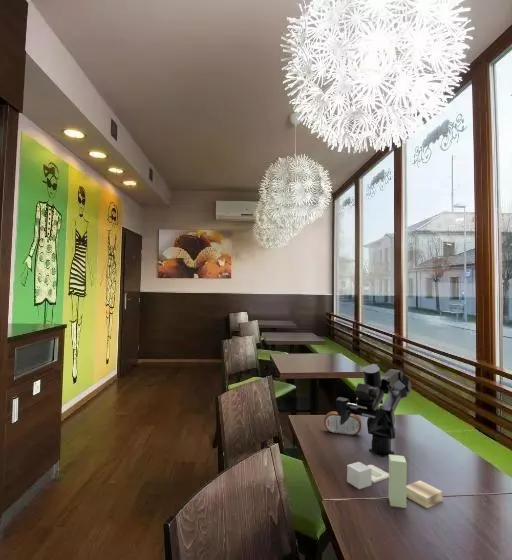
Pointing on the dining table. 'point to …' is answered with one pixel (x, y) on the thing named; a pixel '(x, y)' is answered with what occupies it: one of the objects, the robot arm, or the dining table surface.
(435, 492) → the maple base
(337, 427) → the tin
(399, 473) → the sage block
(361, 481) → the grey cube
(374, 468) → the card
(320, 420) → the dining table surface
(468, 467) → the dining table surface
